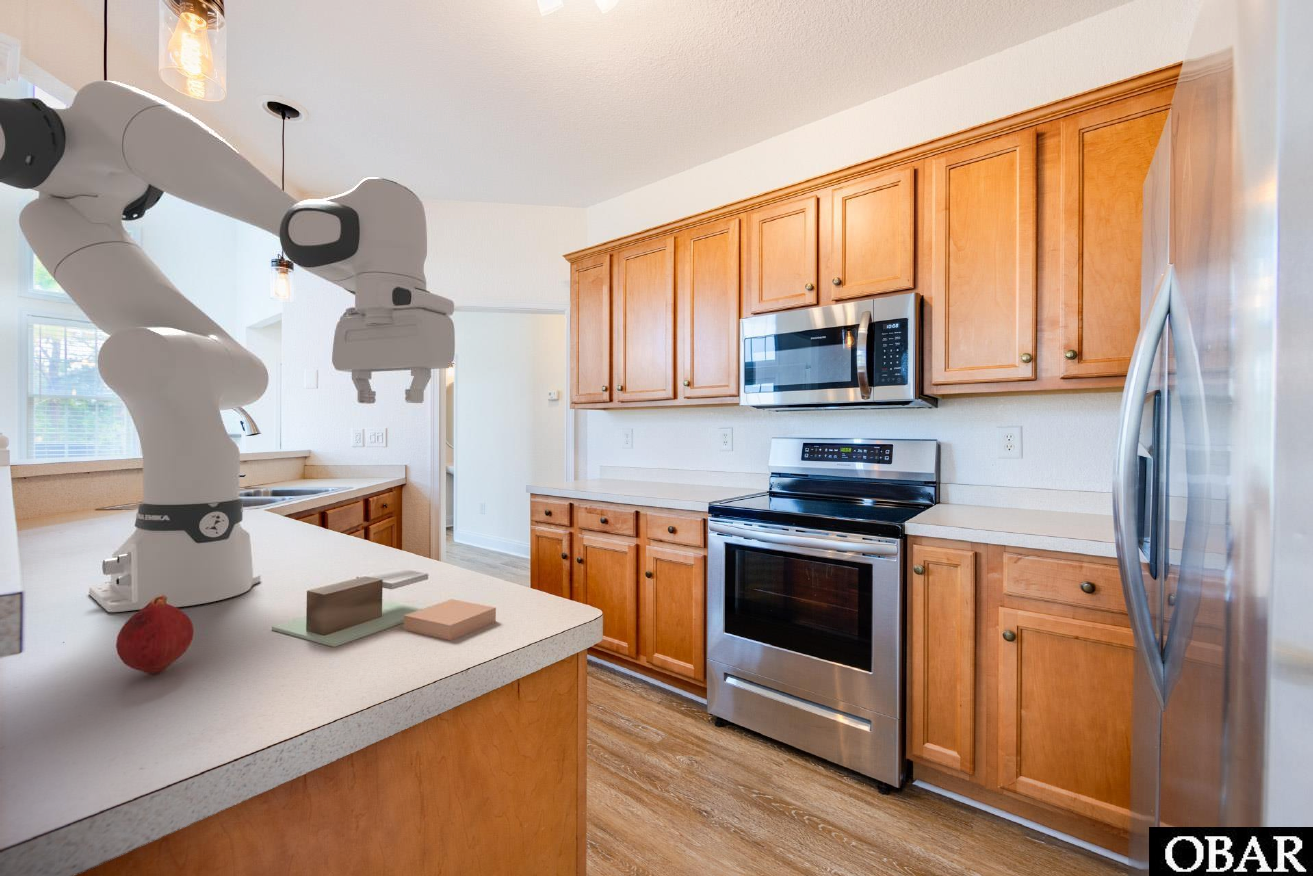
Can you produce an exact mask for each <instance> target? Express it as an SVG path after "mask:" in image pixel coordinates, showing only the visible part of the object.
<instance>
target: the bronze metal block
mask: <svg viewBox="0 0 1313 876" xmlns="http://www.w3.org/2000/svg"><path fill="white" fill-rule="evenodd" d="M427 580H429V573H427V572H420V571H415V570H410V569H403V568H399V567H390V568H388V569H383V570H379V571H375V572H371V573H367V574H362V575H358V576H356V578H353V579H350V580H349V579H348V580H344V581H340V582H336V583H333V584H328V585H325V586H320V587H316V588H312V589H308V590H306V614H305V615H306V616H305V617H306V631H308V632H311V633H315V634H319V635H322V636H325V635H328V634H331V633H334V632H337V631H340V630H343V629H347V628H350V627H353V626H356V625H359V624H362V623H365V622H368V621H371V620H374V619H377V618H380V617H382V600H383V589H387V590H395V589H398V588H402V587H406V586H410V585H412V584H416V583H420V582H423V581H427Z"/></svg>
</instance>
